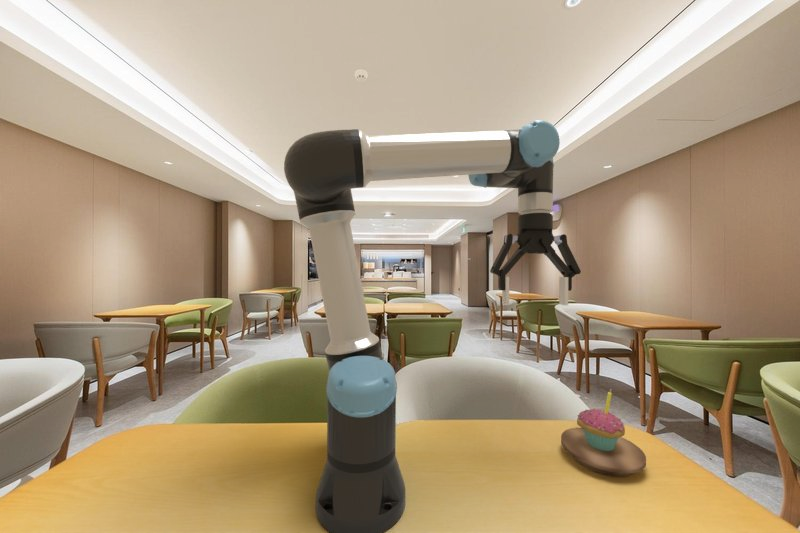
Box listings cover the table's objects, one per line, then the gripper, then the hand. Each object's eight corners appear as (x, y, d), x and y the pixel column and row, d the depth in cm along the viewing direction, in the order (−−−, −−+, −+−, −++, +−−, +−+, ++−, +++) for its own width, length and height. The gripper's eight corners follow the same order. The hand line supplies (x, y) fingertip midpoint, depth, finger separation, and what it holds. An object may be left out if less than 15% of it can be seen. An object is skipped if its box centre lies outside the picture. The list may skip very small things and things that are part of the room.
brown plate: (586, 483, 59) (586, 467, 59) (548, 440, 74) (548, 427, 74) (666, 484, 59) (666, 468, 59) (612, 440, 74) (612, 427, 74)
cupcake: (610, 436, 71) (611, 382, 71) (634, 458, 62) (635, 397, 62) (570, 433, 72) (570, 380, 72) (588, 455, 63) (588, 395, 63)
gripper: (579, 217, 78) (578, 303, 78) (478, 216, 78) (477, 302, 78) (598, 211, 71) (597, 306, 71) (486, 211, 71) (485, 306, 71)
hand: (534, 304), depth 74 cm, fingers open, 13 cm apart
